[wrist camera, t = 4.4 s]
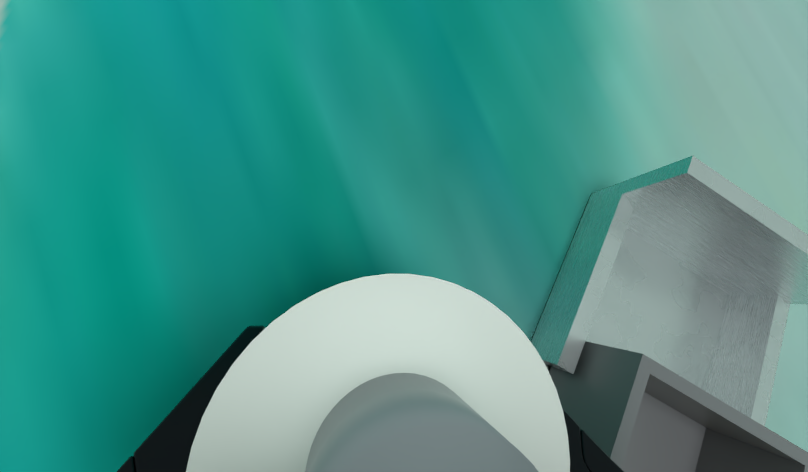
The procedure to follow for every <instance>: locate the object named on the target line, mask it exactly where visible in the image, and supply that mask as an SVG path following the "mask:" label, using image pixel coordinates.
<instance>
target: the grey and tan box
mask: <svg viewBox="0 0 808 472" xmlns="http://www.w3.org/2000/svg"><path fill="white" fill-rule="evenodd" d="M549 374H550V376H551V378H552V381H553V383H554V385H555V387H556V390H557V393H558V396H559V399H560V403H561V406H562V409H563V410H564V411H565V412H566V413H567V414H568V415H569V416H570V417H571V418H572V419H573V420H574V421H575V422H576V423H577V424H578V425H579V427H580V429H582V430H583V431H584V432H585V433H586V434H587V435H588V436H589V437H590V438H591V439H592V440H593V441H594V442H595V443H596V444H597V445H598V446H599V447H600V448H601V449H602V450H603V451H604V452H605V453H606V454H607V455H608V456H609V457H610V458H611V459H612V460H613V461H614V462H615V463H616V464H617V465H618V466H619V467H620V468H621V469H622V470H623V471H624V472H808V452H806V451H804V450H803V449H801V448H799V447H798V446H796V445H794V444H793V443H791V442H789V441H788V440H786V439H784V438H783V437H781V436H779V435H778V434H776V433H774V432H773V431H771V430H769V429H768V428H766V427H764V426H763V425H761V424H759V423H758V422H756V421H754V420H753V419H751V418H749V417H748V416H746V415H744V414H743V413H741V412H739V411H738V410H736V409H734V408H733V407H731V406H729V405H728V404H726V403H724V402H723V401H721V400H719V399H718V398H716V397H714V396H713V395H711V394H709V393H708V392H706V391H704V390H703V389H701V388H699V387H698V386H696V385H694V384H693V383H691V382H689V381H687V380H686V379H684V378H682V377H681V376H679V375H677V374H676V373H674V372H672V371H671V370H669V369H667V368H666V367H664V366H662V365H661V364H659V363H657V362H656V361H654V360H652V359H651V358H649V357H647V356H646V355H644V354H641V353H637V352H632V351H628V350H623V349H618V348H614V347H609V346H605V345H600V344H596V343H591V342H587V341H585V344H584V346H583V349H582V352H581V355H580V357H579V360H578V363H577V365H576V368H575V371H574V374H571V373H569V372H566V371H563V370H561V369H558V368H555V367H552V366H551V369H550V372H549Z"/></svg>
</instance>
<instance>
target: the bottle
mask: <svg viewBox="0 0 808 472" xmlns="http://www.w3.org/2000/svg"><path fill="white" fill-rule="evenodd" d="M186 472H570V454H569V442H568V433H567V428H566V423H565V418H564V413H563V409H562V406H561V403H560V399H559V396H558V393H557V390H556V387H555V385H554V383H553V381H552V378H551V376H550V374H549V371H548V369H547V367H546V365H545V364H544V362H543V360H542V359H541V357H540V355H539V353H538V352H537V350H536V348H535V347H534V346H533V344H532V343H531V342H530V341H529V339H528V338H527V337H526V335H525V334H524V333H523V331H522V330H521V329H520V328H519V327H518V326H517V325H516V324H515V323H514V322H513V321H512V320H511V319H510V318H509V317H508V316H507V315H506V314H505V313H503V312H502V311H501V310H500V309H498V308H497V307H496V306H495V305H493V304H492V303H491V302H489V301H487V300H486V299H484V298H482V297H481V296H479V295H478V294H476V293H474V292H473V291H470V290H468V289H466V288H463V287H461V286H459V285H456V284H454V283H451V282H448V281H444V280H441V279H437V278H434V277H428V276H421V275H414V274H382V275H374V276H367V277H362V278H358V279H354V280H350V281H347V282H343V283H340V284H337V285H335V286H332V287H330V288H327V289H325V290H322V291H320V292H318V293H316V294H314V295H312V296H310V297H309V298H307V299H305V300H303V301H301V302H300V303H298V304H296V305H294V306H293V307H292V308H290V309H289V310H288V311H286V312H285V313H284V314H282V315H281V316H279V317H278V318H277V319H275V320H274V321H273V322H272V323H270V324H269V325H268V326H267V327H266V328H265V329H264V330H263V331H262V332H261V333H260V334H259V335H258V336H257V337H256V338H255V339H253V340H252V341H251V343H250V344H249V345H248V346H247V347H246V349H245V350H244V351H243V352H242V353H241V355H240V356H239V357H238V358H237V359H236V360H235V362H234V363H233V364H232V366H231V367H230V369H229V370H228V372H227V373H226V375H225V376H224V378H223V379H222V381H221V382H220V384H219V386H218V387H217V389H216V390H215V392H214V394H213V396H212V398H211V400H210V402H209V404H208V406H207V408H206V410H205V412H204V414H203V416H202V419H201V422H200V425H199V427H198V430H197V433H196V436H195V439H194V441H193V444H192V447H191V451H190V456H189V460H188V464H187V469H186Z"/></svg>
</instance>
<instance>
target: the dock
mask: <svg viewBox="0 0 808 472" xmlns="http://www.w3.org/2000/svg"><path fill="white" fill-rule="evenodd" d="M790 304H808V235H807V234H806V233H805V232H803V231H802V230H800V229H799V228H797V227H796V226H794V225H793V224H791V223H790V222H789V221H787V220H786V219H784V218H783V217H781V216H780V215H778V214H777V213H775V212H774V211H773V210H771V209H770V208H768V207H767V206H765V205H764V204H762V203H761V202H759V201H758V200H756V199H755V198H754V197H752V196H751V195H749V194H748V193H746V192H745V191H743V190H742V189H740V188H739V187H738V186H736V185H735V184H733V183H732V182H730V181H729V180H727V179H726V178H724V177H723V176H722V175H720V174H719V173H717V172H716V171H714V170H713V169H711V168H710V167H708V166H707V165H706V164H704V163H703V162H701V161H700V160H698V159H697V158H695V157H694V156H691V157H688V158H685V159H683V160H680V161H677V162H675V163H672V164H669V165H666V166H664V167H661V168H658V169H656V170H653V171H650V172H648V173H645V174H642V175H640V176H637V177H634V178H631V179H629V180H626V181H623V182H621V183H618V184H615V185H613V186H610V187H607V188H605V189H602V190H599V191H597V192H594V193H592V194H591V196H590V199H589V201H588V203H587V206H586V208H585V211H584V213H583V216H582V218H581V221H580V223H579V225H578V228H577V230H576V233H575V235H574V238H573V240H572V243H571V245H570V247H569V250H568V252H567V255H566V257H565V260H564V262H563V265H562V267H561V269H560V272H559V274H558V277H557V279H556V282H555V284H554V287H553V289H552V291H551V294H550V296H549V299H548V301H547V304H546V306H545V309H544V311H543V313H542V316H541V318H540V321H539V323H538V326H537V328H536V330H535V333H534V335H533V338H532V340H531V343H532V344H533V346H534V347H535V348H536V350H537V352H538V353H539V355H540V357H541V359H542V360H543V362H544V364H545V365H546V367H547V369H548V371H549V372H550V369H551V366H552V367H555V368H558V369H561V370H563V371H566V372H569V373H571V374H574V371H575V368H576V365H577V363H578V360H579V357H580V355H581V352H582V349H583V346H584V344H585V341H587V342H591V343H596V344H600V345H605V346H609V347H614V348H618V349H623V350H628V351H632V352H637V353H641V354H644V355H646V356H647V357H649V358H651V359H652V360H654V361H656V362H657V363H659V364H661V365H662V366H664V367H666V368H667V369H669V370H671V371H672V372H674V373H676V374H677V375H679V376H681V377H682V378H684V379H686V380H687V381H689V382H691V383H693V384H694V385H696V386H698V387H699V388H701V389H703V390H704V391H706V392H708V393H709V394H711V395H713V396H714V397H716V398H718V399H719V400H721V401H723V402H724V403H726V404H728V405H729V406H731V407H733V408H734V409H736V410H738V411H739V412H741V413H743V414H744V415H746V416H748V417H749V418H751V419H753V420H754V421H756V422H758V423H759V424H761V425H763V426H764V427H765V422H766V417H767V412H768V408H769V403H770V398H771V393H772V388H773V384H774V379H775V374H776V369H777V364H778V359H779V355H780V350H781V345H782V340H783V335H784V330H785V326H786V321H787V316H788V311H789V306H790Z"/></svg>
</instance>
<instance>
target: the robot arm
mask: <svg viewBox="0 0 808 472" xmlns="http://www.w3.org/2000/svg"><path fill="white" fill-rule="evenodd" d="M264 329H265V327H264V326H249V327H247V328H246V329H245V330H244V331H243V332H242V333H241V335H240V336H239V337H238V338H237V339H236V340H235V341H234V342H233V343H232V345H231V346H230V347H229V348H228V349H227V350H226V351H225V352H224V353H223V355H222V356H221V357H220V358H219V359H218V360H217V361H216V362H215V363H214V365H213V366H212V367H211V368H210V369H209V370H208V371H207V372H206V373H205V375H204V376H203V377H202V378H201V379H200V380H199V381H198V382H197V383H196V384H195V386H194V387H193V388H192V389H191V390H190V391H189V392H188V393H187V394H186V396H185V397H184V398H183V399H182V400H181V401H180V402H179V403H178V404H177V406H176V407H175V408H174V409H173V410H172V411H171V412H170V413H169V414H168V416H167V417H166V418H165V419H164V420H163V421H162V422H161V423H160V424H159V426H158V427H157V428H156V429H155V430H154V431H153V432H152V433H151V434H150V436H149V437H148V438H147V439H146V440H145V441H144V442H143V443H142V444H141V446H140V447H139V448H138V449H137V450H136V451H135V452H134V456H131V457H129V459H128V460H127V461H126V462H125V463H124V464H123V465H122V466H121V467H120V469H119V470H118V471H117V472H186V469H187V464H188V460H189V456H190V451H191V447H192V444H193V441H194V439H195V436H196V433H197V430H198V427H199V425H200V422H201V419H202V416H203V414H204V412H205V410H206V408H207V406H208V404H209V402H210V400H211V398H212V396H213V394H214V392H215V390H216V389H217V387H218V386H219V384H220V382H221V381H222V379H223V378H224V376H225V375H226V373H227V372H228V370H229V369H230V367H231V366H232V364H233V363H234V362H235V360H236V359H237V358H238V357H239V356H240V355H241V353H242V352H243V351H244V350H245V349H246V347H247V346H248V345H249V344H250V343H251V341H252V340H253V339H255V338H256V337H257V336H258V335H259V334H260V333H261V332H262V331H263V330H264ZM563 413H564V418H565V423H566V428H567V433H568V442H569V454H570V472H624V471H623V470H622V469H621V468H620V467H619V466H618V465H617V464H616V463H615V462H614V461H613V460H612V459H611V458H610V457H609V456H608V455H607V454H606V453H605V452H604V451H603V450H602V449H601V448H600V447H599V446H598V445H597V444H596V443H595V442H594V441H593V440H592V439H591V438H590V437H589V436H588V435H587V434H586V433H585V432H584V431H583V430H582V429H580V427H579V425H578V424H577V423H576V422H575V421H574V420H573V419H572V418H571V417H570V416H569V415H568V414H567V413H566V412H565V411H564V410H563Z"/></svg>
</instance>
